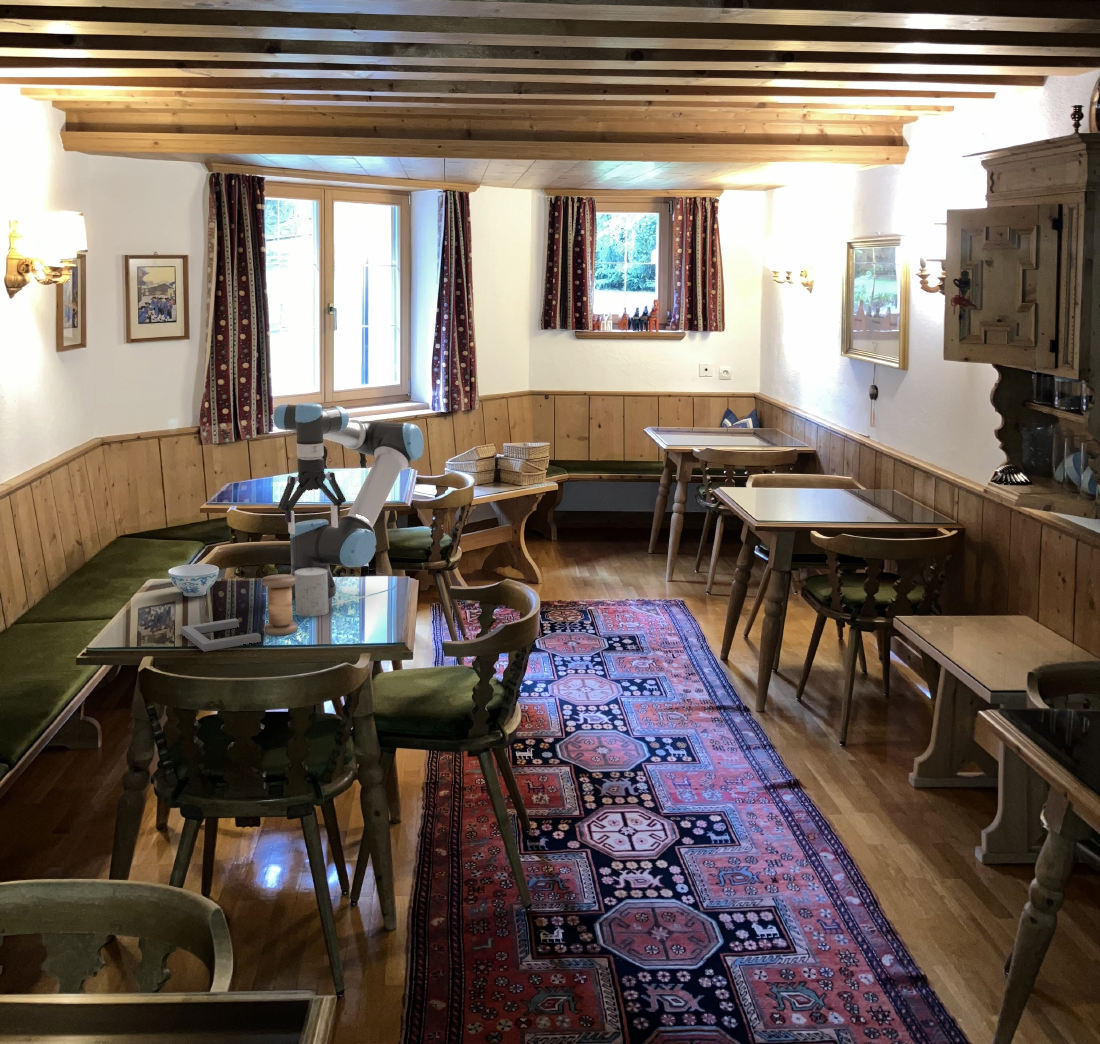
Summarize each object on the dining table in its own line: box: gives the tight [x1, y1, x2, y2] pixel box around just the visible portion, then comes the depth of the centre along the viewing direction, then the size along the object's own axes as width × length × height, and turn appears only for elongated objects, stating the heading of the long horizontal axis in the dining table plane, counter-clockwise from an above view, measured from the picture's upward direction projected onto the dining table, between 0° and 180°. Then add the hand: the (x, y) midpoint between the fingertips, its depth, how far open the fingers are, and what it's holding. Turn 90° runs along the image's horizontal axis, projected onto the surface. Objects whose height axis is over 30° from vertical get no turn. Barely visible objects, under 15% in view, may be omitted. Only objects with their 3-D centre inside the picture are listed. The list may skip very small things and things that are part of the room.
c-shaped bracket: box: [180, 617, 262, 653], centre depth 315 cm, size 19×16×2 cm
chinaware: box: [167, 563, 220, 598], centre depth 360 cm, size 15×15×8 cm
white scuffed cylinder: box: [294, 568, 330, 617], centre depth 340 cm, size 10×10×12 cm
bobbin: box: [261, 573, 298, 636], centre depth 321 cm, size 9×9×15 cm
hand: (313, 530), depth 337 cm, fingers open, 13 cm apart
